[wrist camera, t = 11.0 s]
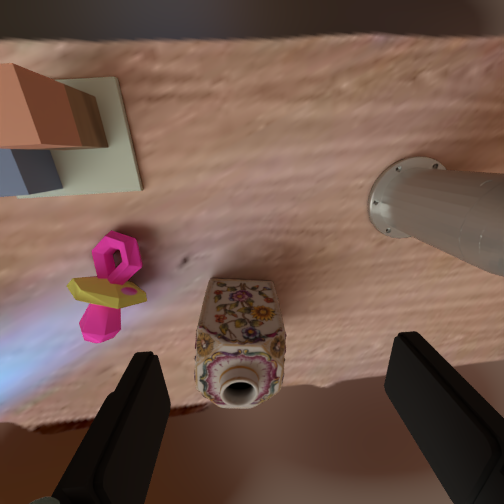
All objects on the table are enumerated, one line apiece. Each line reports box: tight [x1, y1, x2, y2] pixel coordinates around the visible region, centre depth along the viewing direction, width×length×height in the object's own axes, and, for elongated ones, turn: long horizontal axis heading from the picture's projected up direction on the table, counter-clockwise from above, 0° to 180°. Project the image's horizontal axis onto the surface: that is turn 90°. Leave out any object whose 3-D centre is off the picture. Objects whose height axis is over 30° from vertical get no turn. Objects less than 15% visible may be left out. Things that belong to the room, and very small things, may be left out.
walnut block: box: [36, 84, 109, 150], centre depth 29 cm, size 6×6×6 cm
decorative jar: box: [194, 278, 286, 409], centre depth 36 cm, size 12×12×18 cm
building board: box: [17, 77, 143, 199], centre depth 32 cm, size 18×14×1 cm
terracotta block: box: [0, 63, 82, 149], centre depth 23 cm, size 6×6×6 cm
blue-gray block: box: [0, 149, 63, 197], centre depth 30 cm, size 6×6×6 cm
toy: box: [67, 230, 147, 343], centre depth 37 cm, size 10×18×10 cm, turn 163°
